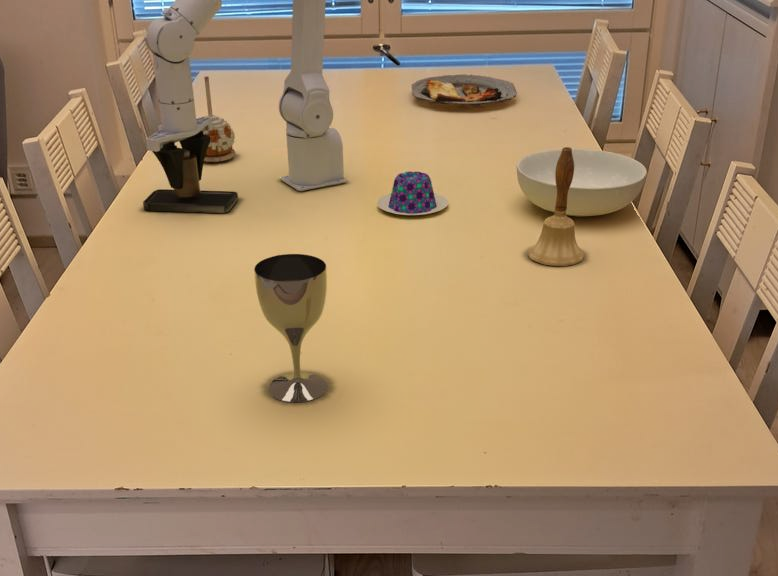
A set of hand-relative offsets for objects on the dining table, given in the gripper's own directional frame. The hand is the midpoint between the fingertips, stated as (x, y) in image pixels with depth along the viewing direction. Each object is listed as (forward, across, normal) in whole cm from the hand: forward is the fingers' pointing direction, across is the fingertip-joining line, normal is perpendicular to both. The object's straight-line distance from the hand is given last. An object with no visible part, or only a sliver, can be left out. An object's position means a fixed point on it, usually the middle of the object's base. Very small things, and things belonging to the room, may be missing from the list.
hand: (186, 183), depth 173 cm
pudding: (+4, -17, +34) cm, 38 cm away
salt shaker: (+2, 0, 0) cm, 2 cm away
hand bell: (+4, -8, +64) cm, 64 cm away
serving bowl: (+4, -30, +59) cm, 66 cm away
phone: (+4, 0, 0) cm, 4 cm away
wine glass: (+4, +44, +53) cm, 69 cm away
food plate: (+4, -86, +9) cm, 86 cm away
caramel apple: (+4, -24, -13) cm, 27 cm away
